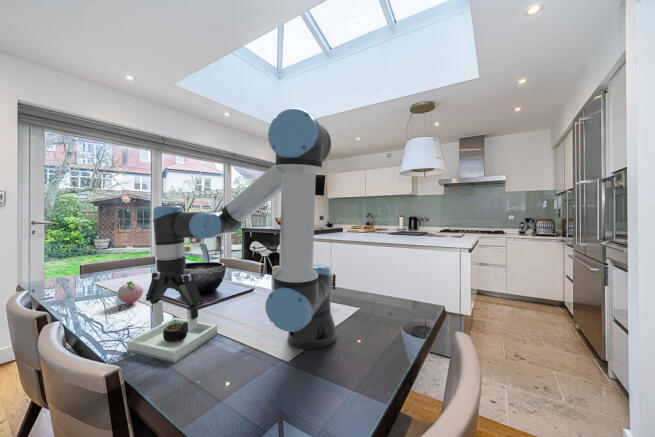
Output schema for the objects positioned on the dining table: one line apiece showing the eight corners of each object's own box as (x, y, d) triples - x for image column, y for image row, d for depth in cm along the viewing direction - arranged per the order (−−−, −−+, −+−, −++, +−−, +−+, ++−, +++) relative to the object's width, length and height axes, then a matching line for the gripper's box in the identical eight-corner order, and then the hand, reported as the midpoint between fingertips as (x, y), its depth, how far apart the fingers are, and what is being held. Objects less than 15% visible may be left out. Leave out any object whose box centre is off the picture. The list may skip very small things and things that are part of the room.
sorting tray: (217, 334, 86) (217, 325, 85) (174, 362, 70) (174, 352, 70) (175, 326, 91) (175, 317, 91) (127, 351, 76) (127, 341, 76)
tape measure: (186, 342, 79) (185, 330, 79) (160, 346, 77) (159, 333, 77) (190, 331, 86) (190, 320, 85) (167, 334, 84) (166, 323, 84)
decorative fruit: (114, 305, 110) (113, 281, 110) (137, 298, 117) (136, 276, 116) (123, 310, 105) (121, 285, 104) (146, 303, 112) (145, 280, 111)
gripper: (213, 256, 79) (217, 325, 80) (152, 253, 87) (156, 315, 88) (193, 262, 71) (198, 337, 73) (128, 257, 79) (134, 326, 81)
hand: (175, 325), depth 80 cm, fingers open, 13 cm apart
